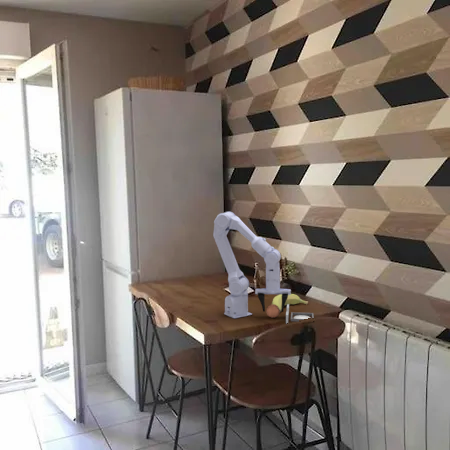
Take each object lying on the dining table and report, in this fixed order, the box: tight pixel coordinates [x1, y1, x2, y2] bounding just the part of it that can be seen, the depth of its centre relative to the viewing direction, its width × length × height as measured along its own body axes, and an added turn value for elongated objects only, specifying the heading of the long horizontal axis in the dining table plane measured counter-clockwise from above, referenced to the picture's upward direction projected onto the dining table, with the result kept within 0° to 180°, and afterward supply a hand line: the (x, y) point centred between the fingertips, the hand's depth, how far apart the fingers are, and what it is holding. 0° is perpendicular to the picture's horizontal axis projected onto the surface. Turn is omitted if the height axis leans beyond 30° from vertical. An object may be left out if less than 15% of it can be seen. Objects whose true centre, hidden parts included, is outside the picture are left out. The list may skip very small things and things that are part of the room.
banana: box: [271, 293, 309, 314], centre depth 218 cm, size 14×6×20 cm
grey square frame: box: [290, 311, 315, 322], centre depth 202 cm, size 9×9×1 cm
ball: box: [265, 303, 281, 319], centre depth 203 cm, size 6×6×6 cm
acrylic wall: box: [285, 304, 290, 325], centre depth 202 cm, size 16×1×4 cm, turn 171°
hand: (273, 311), depth 203 cm, fingers open, 7 cm apart
